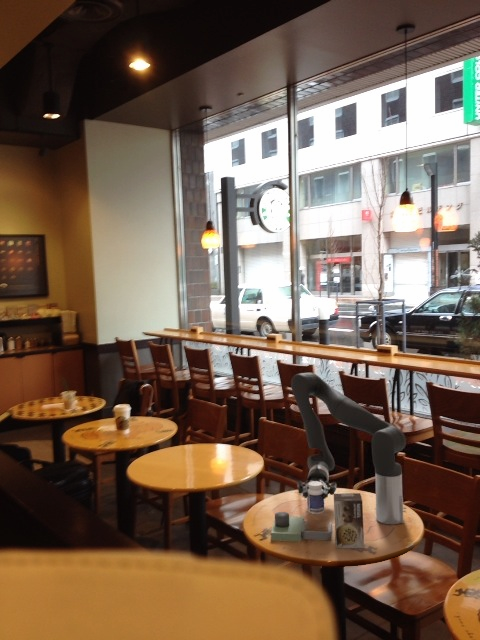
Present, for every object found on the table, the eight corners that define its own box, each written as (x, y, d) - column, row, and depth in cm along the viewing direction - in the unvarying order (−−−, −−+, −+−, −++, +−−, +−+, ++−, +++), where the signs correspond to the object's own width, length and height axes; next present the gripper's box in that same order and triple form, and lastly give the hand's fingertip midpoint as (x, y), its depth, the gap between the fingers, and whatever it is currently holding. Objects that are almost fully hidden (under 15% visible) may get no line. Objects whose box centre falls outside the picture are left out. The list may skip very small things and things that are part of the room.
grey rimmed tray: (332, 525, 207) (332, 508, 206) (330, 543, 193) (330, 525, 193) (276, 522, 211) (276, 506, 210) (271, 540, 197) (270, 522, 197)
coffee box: (362, 539, 195) (361, 492, 193) (364, 548, 188) (363, 500, 187) (334, 539, 195) (333, 492, 194) (335, 548, 189) (334, 500, 188)
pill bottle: (327, 511, 200) (327, 483, 199) (315, 516, 197) (314, 487, 196) (316, 506, 205) (315, 478, 204) (304, 510, 201) (303, 482, 200)
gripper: (298, 467, 215) (293, 484, 199) (337, 468, 212) (336, 485, 196) (298, 487, 216) (294, 505, 199) (338, 488, 213) (336, 507, 196)
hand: (314, 495), depth 198 cm, fingers closed on pill bottle, 5 cm apart
